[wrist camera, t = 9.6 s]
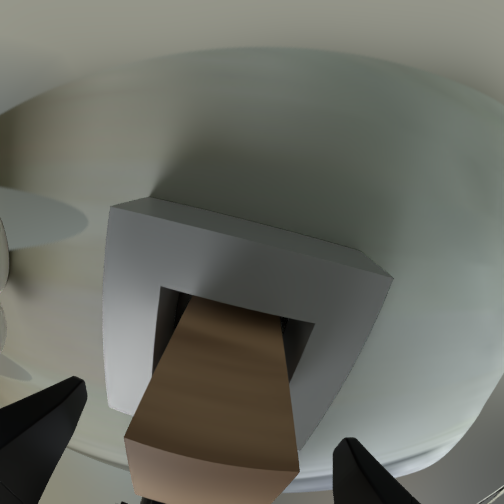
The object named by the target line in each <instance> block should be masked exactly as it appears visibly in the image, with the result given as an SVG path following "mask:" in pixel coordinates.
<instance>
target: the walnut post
mask: <svg viewBox="0 0 504 504" xmlns="http://www.w3.org/2000/svg"><path fill="white" fill-rule="evenodd" d="M124 441H125V448H126V453H127V459H128V464H129V469H130V474H131V478H132V483H133V487H134V491H135V494H136V495H139V496H142V497H145V498H148V499H152V500H155V501H159V502H162V503H166V504H271V503H272V502H273V501H274V500H275V499H276V498H277V497H278V496H279V495H280V494H281V493H282V492H283V490H284V489H285V488H286V487H287V486H288V485H289V484H290V483H291V482H292V480H293V479H294V478H295V477H296V476H297V475H298V473H299V472H300V469H299V460H298V452H297V443H296V435H295V427H294V419H293V411H292V403H291V396H290V388H289V381H288V373H287V366H286V358H285V351H284V344H283V337H282V330H281V323H280V316H277V315H273V314H268V313H264V312H259V311H255V310H251V309H246V308H242V307H238V306H234V305H230V304H226V303H222V302H218V301H214V300H210V299H206V298H202V297H199V296H195V295H193V296H192V298H191V300H190V301H189V303H188V305H187V307H186V309H185V311H184V313H183V315H182V317H181V319H180V321H179V323H178V325H177V327H176V329H175V331H174V333H173V335H172V337H171V339H170V341H169V343H168V345H167V347H166V349H165V351H164V353H163V355H162V357H161V359H160V361H159V363H158V365H157V367H156V369H155V372H154V374H153V376H152V378H151V380H150V382H149V384H148V386H147V388H146V390H145V392H144V395H143V397H142V399H141V401H140V403H139V405H138V407H137V410H136V412H135V414H134V416H133V418H132V420H131V423H130V425H129V427H128V429H127V431H126V434H125V436H124Z"/></svg>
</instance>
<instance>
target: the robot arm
mask: <svg viewBox="0 0 504 504" xmlns="http://www.w3.org/2000/svg"><path fill="white" fill-rule="evenodd" d="M86 401H87V391H86V385H85V381H84V380H83V379H80V378H78V377H76V376H72V377H70V378H68V379H66V380H63V381H61V382H59V383H57V384H55V385H53V386H50V387H48V388H46V389H44V390H42V391H39V392H37V393H35V394H33V395H30V396H28V397H26V398H24V399H21V400H19V401H17V402H15V403H12V404H10V405H8V406H5V407H3V408H1V409H0V504H38V502H39V500H40V498H41V496H42V494H43V492H44V489H45V487H46V485H47V483H48V481H49V479H50V477H51V475H52V473H53V471H54V469H55V467H56V465H57V463H58V461H59V460H60V458H61V456H62V454H63V452H64V450H65V448H66V446H67V445H68V443H69V441H70V439H71V437H72V435H73V433H74V431H75V428H76V426H77V423H78V421H79V418H80V416H81V413H82V411H83V409H84V406H85V404H86ZM333 496H334V504H421V503H419V502H418V501H417V500H416V499H415V498H414V497H412V495H411V494H410V493H409V492H408V491H407V490H406V489H405V488H404V487H403V486H402V485H401V484H400V483H399V482H398V481H397V480H396V479H395V478H394V477H393V476H392V475H391V474H390V473H389V472H388V471H387V470H386V469H385V468H384V467H383V466H382V465H381V464H380V463H379V462H378V461H377V460H376V459H375V458H374V457H373V456H372V455H371V454H370V453H369V452H368V451H367V450H366V448H365V447H364V446H363V445H362V444H361V443H360V442H359V441H358V440H357V439H356V438H353V437H346V438H344V439H342V441H341V442H340V443H339V444H338V446H337V447H336V448H335V449H334V452H333ZM121 504H127V503H125V502H121ZM140 504H166V503H162V502H159V501H155V500H152V499H148V498H145V497H142V499H141V502H140Z"/></svg>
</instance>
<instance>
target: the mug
mask: <svg viewBox="0 0 504 504" xmlns="http://www.w3.org/2000/svg"><path fill="white" fill-rule="evenodd" d="M8 273H9V250H8V243H7V238H6V233H5V230H4V226H3V223H2V221H1V218H0V293H1V292H2V290H3V289H4V287H5V285H6V282H7V279H8ZM6 335H7V324H6V318H5V314H4V311H3V308H2V306H1V303H0V353H1V351H2V350H3V347H4V345H5V341H6Z"/></svg>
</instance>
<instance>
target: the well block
mask: <svg viewBox="0 0 504 504" xmlns="http://www.w3.org/2000/svg"><path fill="white" fill-rule="evenodd" d="M393 279H394V278H393V277H392V276H390V275H389V274H388V273H387V272H386V271H384V270H383V269H382V268H381V267H380V266H378V265H377V264H376V263H375V262H373V261H372V260H371V259H370V258H368V257H367V256H366V255H365V254H363V253H362V252H361V251H359V250H355V249H352V248H348V247H345V246H341V245H338V244H334V243H331V242H327V241H324V240H320V239H316V238H313V237H309V236H305V235H302V234H298V233H294V232H290V231H287V230H283V229H279V228H275V227H272V226H268V225H264V224H260V223H256V222H252V221H248V220H244V219H240V218H236V217H232V216H228V215H224V214H220V213H216V212H212V211H208V210H204V209H200V208H195V207H191V206H187V205H183V204H178V203H174V202H170V201H165V200H161V199H157V198H152V197H146V198H141V199H137V200H133V201H129V202H125V203H121V204H117V205H113V206H110V212H109V219H108V228H107V237H106V247H105V260H104V276H103V351H104V367H105V379H106V389H107V397H108V405H109V407H110V408H112V409H115V410H117V411H120V412H122V413H125V414H128V415H131V416H134V414H135V412H136V410H137V407H138V405H139V403H140V401H141V399H142V397H143V395H144V392H145V390H146V388H147V386H148V384H149V382H150V380H151V378H152V376H153V374H154V372H155V369H156V367H157V365H158V363H159V361H160V359H161V357H162V355H163V353H164V351H165V349H166V347H167V345H168V343H169V341H170V339H171V337H172V335H173V330H174V323H175V316H176V310H177V303H178V297H179V291H180V292H184V293H187V294H191V295H195V296H199V297H202V298H206V299H210V300H214V301H218V302H222V303H226V304H230V305H234V306H238V307H242V308H246V309H251V310H255V311H259V312H264V313H268V314H273V315H277V316H282V317H286V318H289V320H288V322H287V325H286V328H285V331H284V333H283V336H282V337H283V344H284V351H285V358H286V366H287V373H288V381H289V388H290V396H291V403H292V411H293V419H294V427H295V435H296V443H297V450H301V448H302V447H303V446H304V444H305V443H306V442H307V440H308V439H309V437H310V436H311V434H312V433H313V431H314V430H315V428H316V427H317V425H318V424H319V422H320V421H321V419H322V418H323V416H324V415H325V413H326V412H327V410H328V408H329V407H330V405H331V404H332V402H333V400H334V399H335V397H336V395H337V394H338V392H339V390H340V389H341V387H342V385H343V383H344V382H345V380H346V378H347V376H348V375H349V373H350V371H351V369H352V367H353V365H354V364H355V362H356V360H357V358H358V356H359V354H360V352H361V350H362V348H363V346H364V344H365V342H366V340H367V338H368V336H369V334H370V332H371V330H372V328H373V325H374V323H375V321H376V319H377V317H378V314H379V312H380V310H381V308H382V305H383V303H384V301H385V298H386V296H387V294H388V291H389V289H390V286H391V284H392V281H393Z"/></svg>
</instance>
